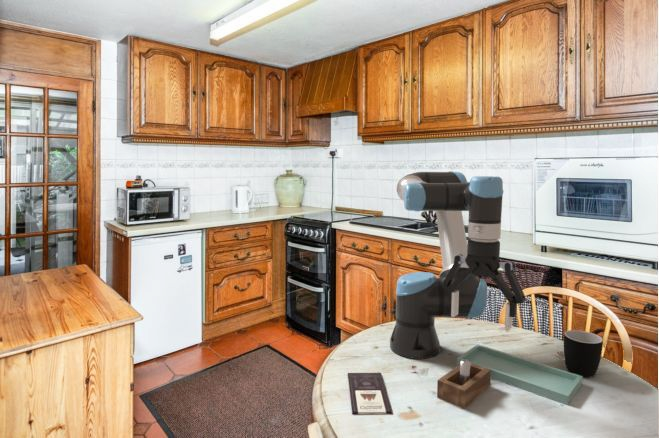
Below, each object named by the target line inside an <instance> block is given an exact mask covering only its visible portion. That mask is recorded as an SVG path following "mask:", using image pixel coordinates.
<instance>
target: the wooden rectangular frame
mask: <svg viewBox="0 0 659 438" xmlns="http://www.w3.org/2000/svg"><path fill="white" fill-rule="evenodd" d="M490 375H491V370H490V369H487V368H484V367H481V366H478V365H475V364H472V363H470V380H469V381H468V382H466V383H465V384H464V385H462V386H460V385H459V381H460V365H458V366H457V365H456V366H455V367H454V368H453V369H451V370H450V371H449V372H447V373H445V374H444V375H442V376H441V377H439V379H437V385H436V386H437V387H436V389H437V390H436V396H437V397H436V398H438V399H440V400H442V401H444V402H446V403H449V404H450V405H451V404H452V405H453V406H456V407H458V408H460V409H463V410H466V408H467V407H469V405H471V404H472V403H473V402H474V401H475V400H477V398H479V397H480V396H482V394H483V393H485V392H486V391H487V390H488V389H489V388H490V387H491V378H490Z"/></svg>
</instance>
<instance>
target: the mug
mask: <svg viewBox="0 0 659 438" xmlns="http://www.w3.org/2000/svg"><path fill="white" fill-rule="evenodd" d="M603 344H604V339H603V338H602V337H601V336H599V335H598V334H596V333H592V332H589V331H585V330H581V329H579V330H577V329H572V330H570V329H569V330H566V331H564V334H563V357H564V363H565V367H566V370H567V372H570V373H574V374H577V375H580V376H583V378H592V377H594V376H595V375H596V374H597V372H598V369H599V366H600V362H601V359H602V358H601V357H602V352H603V346H604V345H603Z"/></svg>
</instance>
